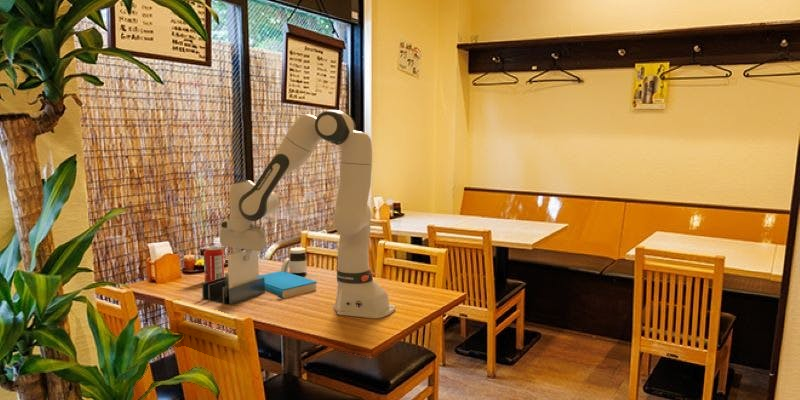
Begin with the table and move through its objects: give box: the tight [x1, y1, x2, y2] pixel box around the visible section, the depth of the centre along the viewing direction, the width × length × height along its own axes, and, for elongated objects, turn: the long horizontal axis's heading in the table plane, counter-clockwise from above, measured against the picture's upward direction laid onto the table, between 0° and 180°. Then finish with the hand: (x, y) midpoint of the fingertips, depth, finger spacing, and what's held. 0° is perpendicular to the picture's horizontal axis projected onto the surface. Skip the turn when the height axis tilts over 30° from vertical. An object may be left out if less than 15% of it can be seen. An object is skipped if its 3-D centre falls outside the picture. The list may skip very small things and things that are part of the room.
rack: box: [201, 271, 266, 306], centre depth 208 cm, size 16×18×10 cm
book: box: [259, 270, 318, 299], centre depth 224 cm, size 17×4×25 cm
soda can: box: [203, 246, 225, 283], centre depth 230 cm, size 8×8×15 cm
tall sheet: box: [227, 249, 259, 289], centre depth 205 cm, size 2×14×16 cm, turn 152°
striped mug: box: [280, 246, 308, 277], centre depth 246 cm, size 12×11×12 cm
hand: (243, 260), depth 204 cm, fingers closed on tall sheet, 2 cm apart
